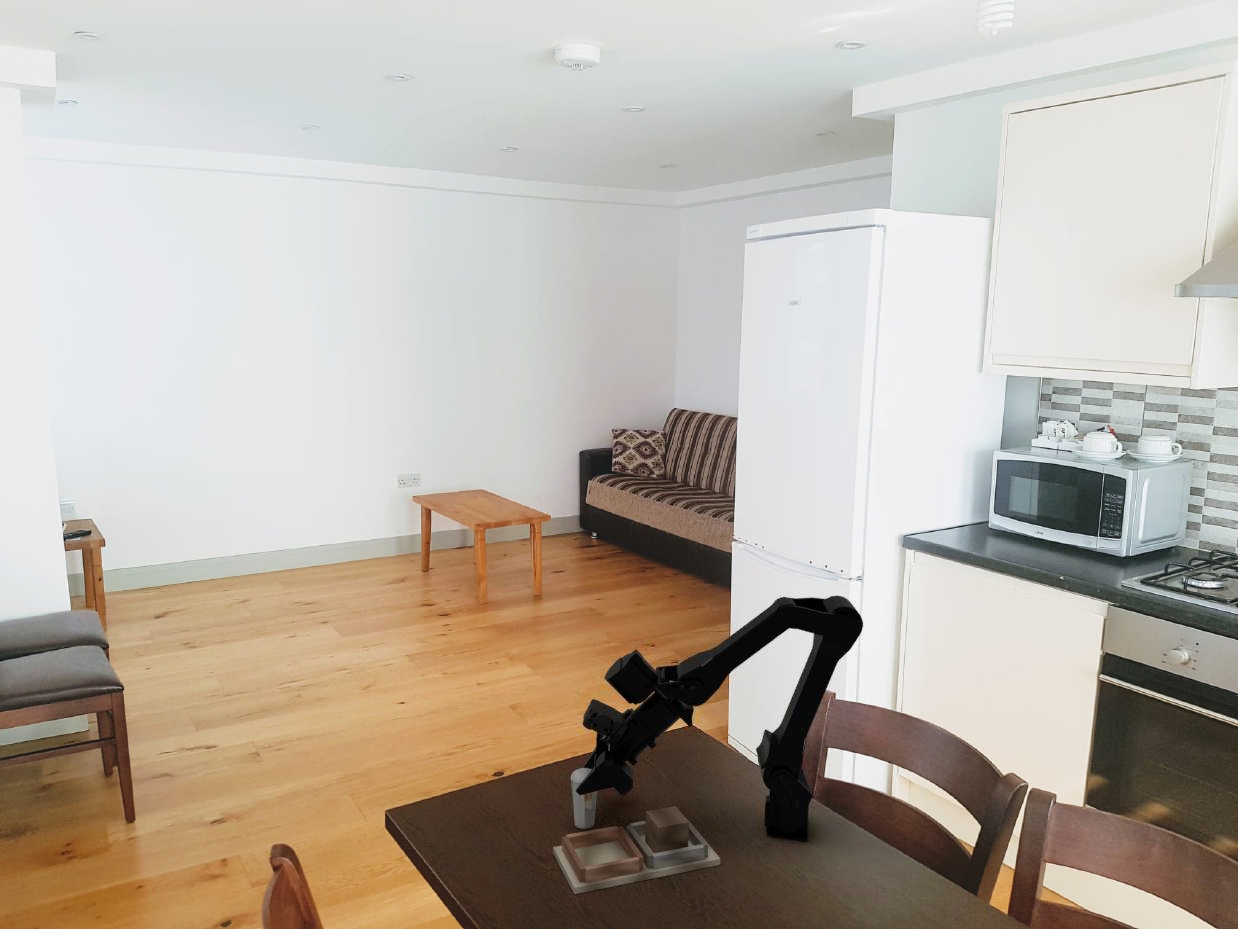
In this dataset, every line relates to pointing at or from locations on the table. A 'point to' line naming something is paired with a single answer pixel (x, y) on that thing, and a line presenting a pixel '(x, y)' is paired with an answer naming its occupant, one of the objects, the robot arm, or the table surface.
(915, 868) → the table surface
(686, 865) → the grey-brown divided tray
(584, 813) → the milkshake
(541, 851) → the table surface
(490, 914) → the table surface
